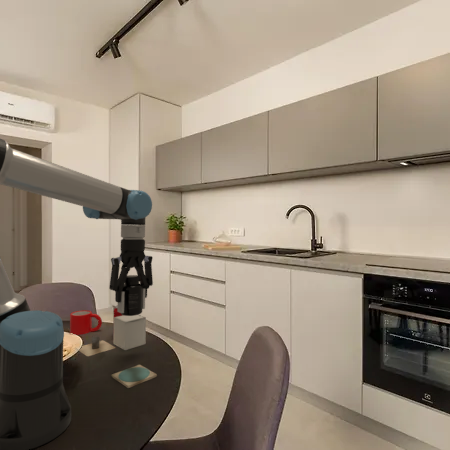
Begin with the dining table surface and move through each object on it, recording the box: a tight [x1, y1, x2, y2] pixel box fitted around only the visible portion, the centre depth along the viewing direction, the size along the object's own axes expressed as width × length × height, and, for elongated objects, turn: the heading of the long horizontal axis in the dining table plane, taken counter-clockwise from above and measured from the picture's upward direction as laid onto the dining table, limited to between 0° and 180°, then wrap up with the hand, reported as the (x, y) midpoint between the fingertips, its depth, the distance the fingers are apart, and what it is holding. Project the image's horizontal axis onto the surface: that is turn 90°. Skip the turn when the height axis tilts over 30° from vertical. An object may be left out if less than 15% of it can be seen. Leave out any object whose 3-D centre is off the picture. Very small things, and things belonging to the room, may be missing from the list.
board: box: [78, 334, 117, 357], centre depth 108 cm, size 10×10×5 cm
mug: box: [69, 309, 103, 336], centre depth 125 cm, size 8×12×8 cm, turn 96°
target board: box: [111, 364, 158, 389], centre depth 90 cm, size 9×9×1 cm
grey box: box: [112, 314, 147, 351], centre depth 112 cm, size 8×8×10 cm
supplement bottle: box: [121, 274, 143, 316], centre depth 102 cm, size 7×7×12 cm
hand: (131, 310), depth 101 cm, fingers closed on supplement bottle, 7 cm apart
